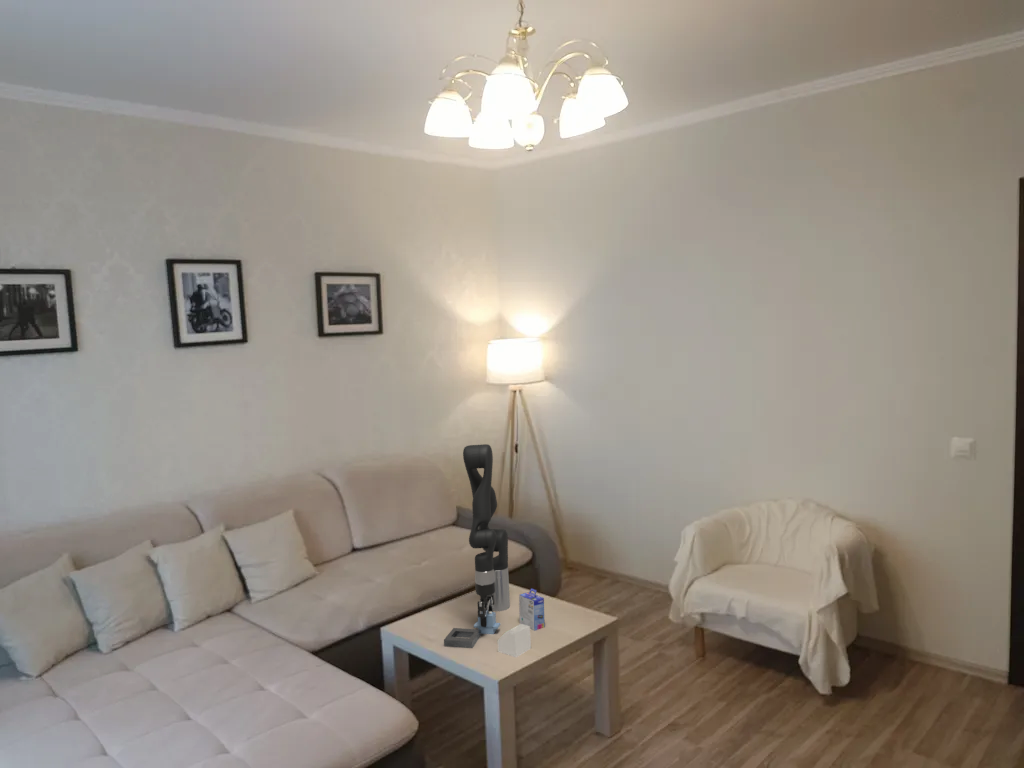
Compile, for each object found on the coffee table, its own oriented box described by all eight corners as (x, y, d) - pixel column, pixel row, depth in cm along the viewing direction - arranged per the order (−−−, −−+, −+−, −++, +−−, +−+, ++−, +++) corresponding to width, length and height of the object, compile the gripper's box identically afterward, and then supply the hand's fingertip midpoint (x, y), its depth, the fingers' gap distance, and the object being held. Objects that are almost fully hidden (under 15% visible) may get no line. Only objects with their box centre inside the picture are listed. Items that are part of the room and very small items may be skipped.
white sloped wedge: (541, 642, 263) (540, 620, 262) (516, 657, 251) (515, 634, 251) (523, 637, 268) (522, 615, 268) (498, 652, 257) (496, 629, 256)
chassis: (453, 634, 274) (453, 627, 274) (481, 635, 271) (480, 629, 271) (444, 646, 263) (443, 639, 263) (472, 648, 261) (472, 641, 261)
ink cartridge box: (545, 628, 276) (544, 591, 275) (534, 632, 272) (533, 595, 272) (530, 621, 284) (528, 585, 283) (519, 624, 280) (517, 588, 280)
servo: (477, 629, 277) (476, 609, 277) (500, 631, 275) (499, 610, 275) (474, 633, 274) (473, 612, 273) (498, 635, 271) (497, 614, 271)
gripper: (481, 574, 281) (482, 614, 282) (469, 586, 267) (472, 628, 268) (499, 575, 279) (501, 615, 280) (489, 587, 265) (491, 630, 266)
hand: (486, 622), depth 274 cm, fingers open, 8 cm apart
